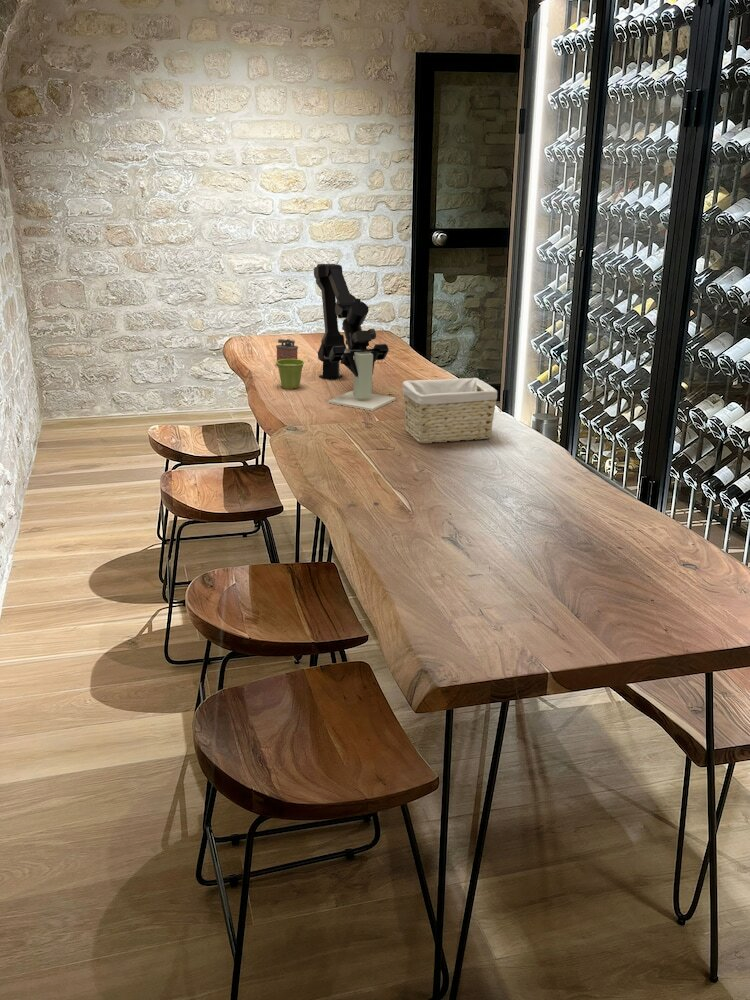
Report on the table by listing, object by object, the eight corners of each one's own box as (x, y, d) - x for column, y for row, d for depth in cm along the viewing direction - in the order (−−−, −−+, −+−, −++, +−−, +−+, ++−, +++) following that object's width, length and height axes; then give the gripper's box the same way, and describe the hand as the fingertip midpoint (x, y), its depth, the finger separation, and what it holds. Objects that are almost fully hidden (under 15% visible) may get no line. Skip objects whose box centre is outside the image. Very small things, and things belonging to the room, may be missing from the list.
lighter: (298, 365, 323) (298, 338, 320) (297, 367, 320) (297, 340, 316) (277, 364, 324) (277, 337, 320) (275, 366, 321) (275, 339, 317)
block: (365, 393, 282) (367, 351, 276) (371, 397, 278) (373, 354, 273) (353, 395, 280) (354, 352, 275) (359, 398, 276) (360, 355, 271)
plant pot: (300, 391, 289) (300, 365, 285) (272, 389, 290) (272, 363, 287) (307, 384, 297) (307, 359, 294) (281, 382, 299) (281, 357, 296)
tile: (353, 392, 290) (353, 390, 289) (395, 399, 283) (395, 397, 282) (328, 403, 276) (328, 400, 276) (372, 411, 270) (372, 408, 269)
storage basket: (415, 446, 239) (418, 394, 234) (398, 428, 254) (400, 379, 248) (496, 441, 246) (500, 390, 240) (474, 424, 260) (478, 376, 255)
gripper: (332, 320, 270) (342, 363, 265) (387, 318, 277) (399, 360, 271) (324, 340, 280) (334, 382, 275) (378, 338, 286) (389, 379, 281)
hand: (364, 375), depth 275 cm, fingers closed on block, 5 cm apart
